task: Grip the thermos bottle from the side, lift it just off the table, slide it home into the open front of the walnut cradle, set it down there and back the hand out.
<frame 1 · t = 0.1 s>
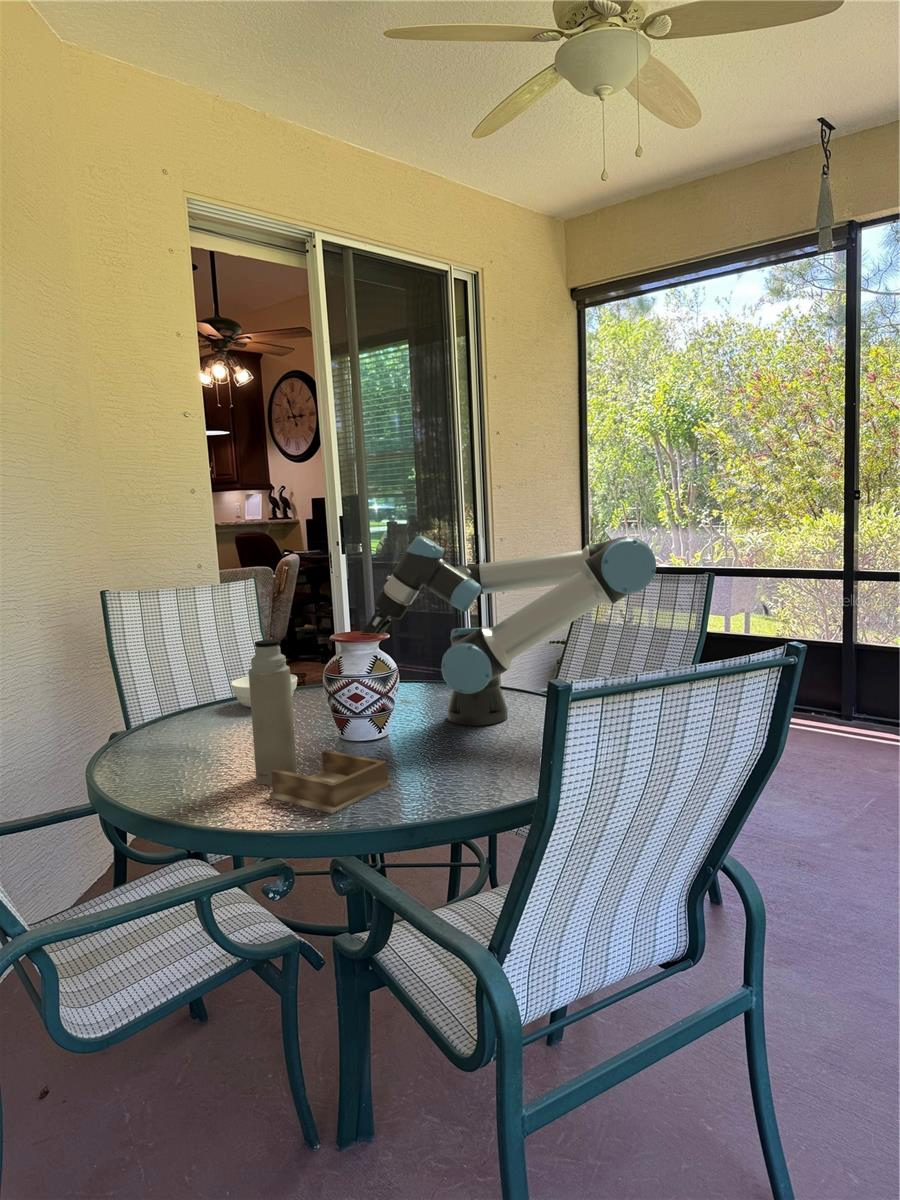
hand: (348, 670, 178), 15 cm above the table, tool tilted 35°, fingers open, 13 cm apart
thermos bottle: (276, 778, 150), on the table
walnut cradle: (331, 790, 142), on the table
bowl: (266, 705, 212), on the table
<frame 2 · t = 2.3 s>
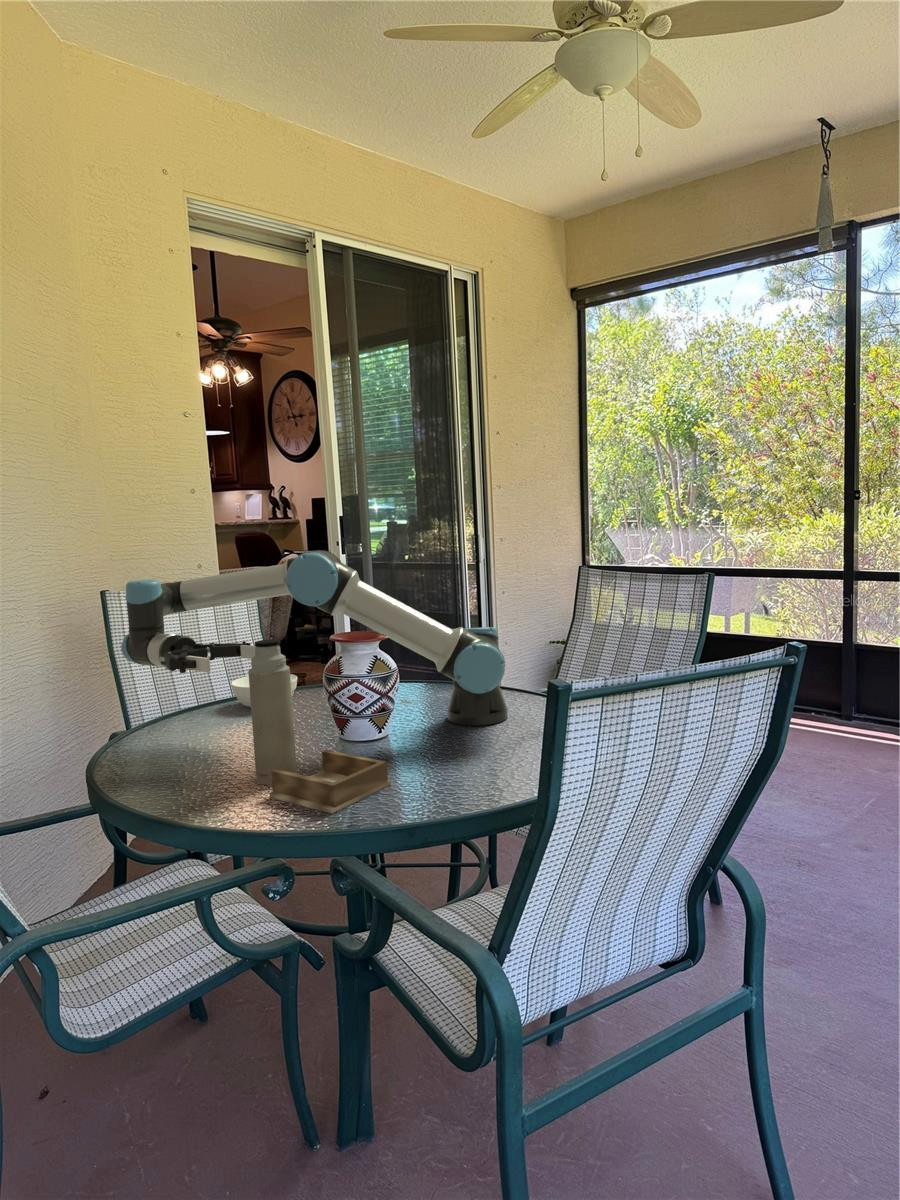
hand: (236, 659, 153), 24 cm above the table, tool horizontal, fingers open, 13 cm apart
nothing on the table moved.
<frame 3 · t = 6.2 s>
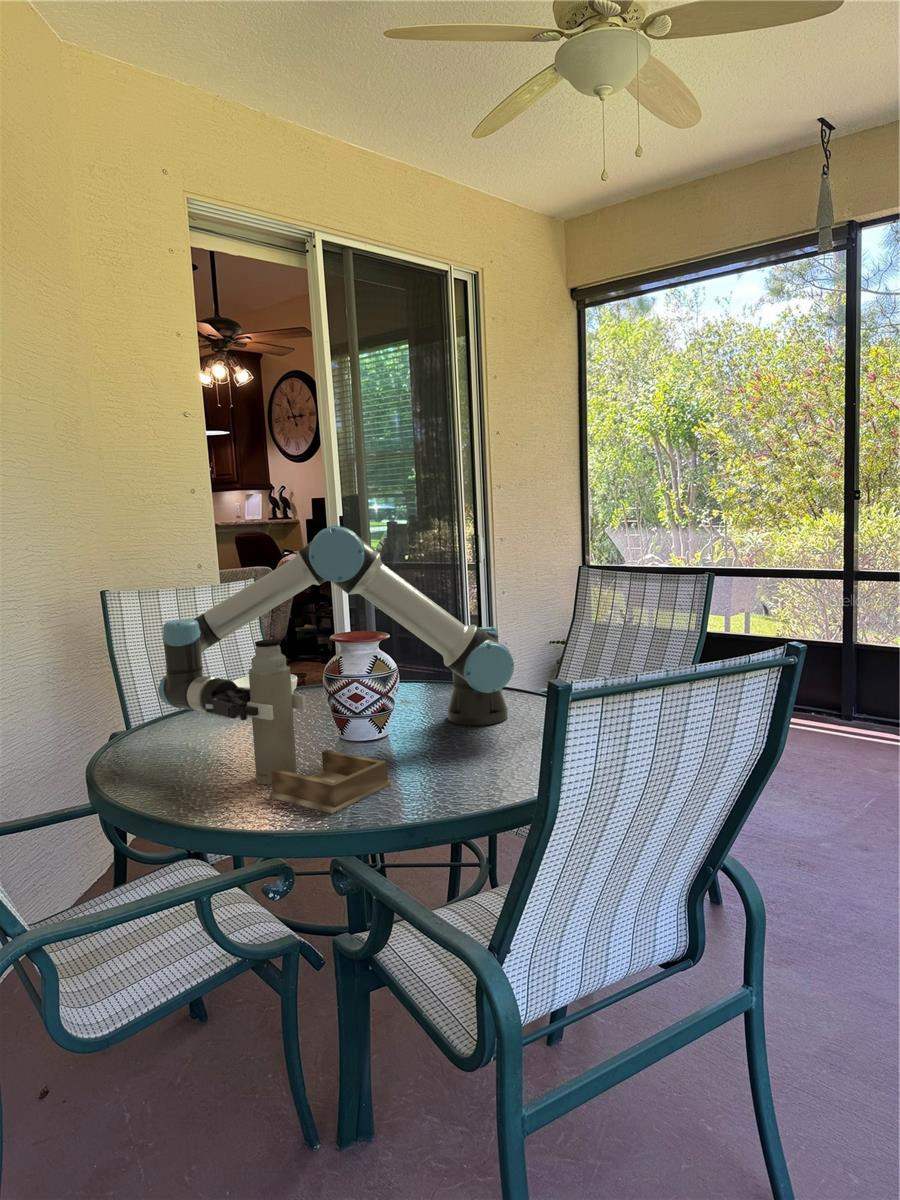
hand: (288, 707, 146), 15 cm above the table, tool horizontal, fingers closed on thermos bottle, 8 cm apart
thermos bottle: (276, 778, 150), on the table, touching gripper
everything else where it was.
when the fingers open (16 cm above the table, at t = 11.0 s): thermos bottle moves 2 cm, resting on walnut cradle.
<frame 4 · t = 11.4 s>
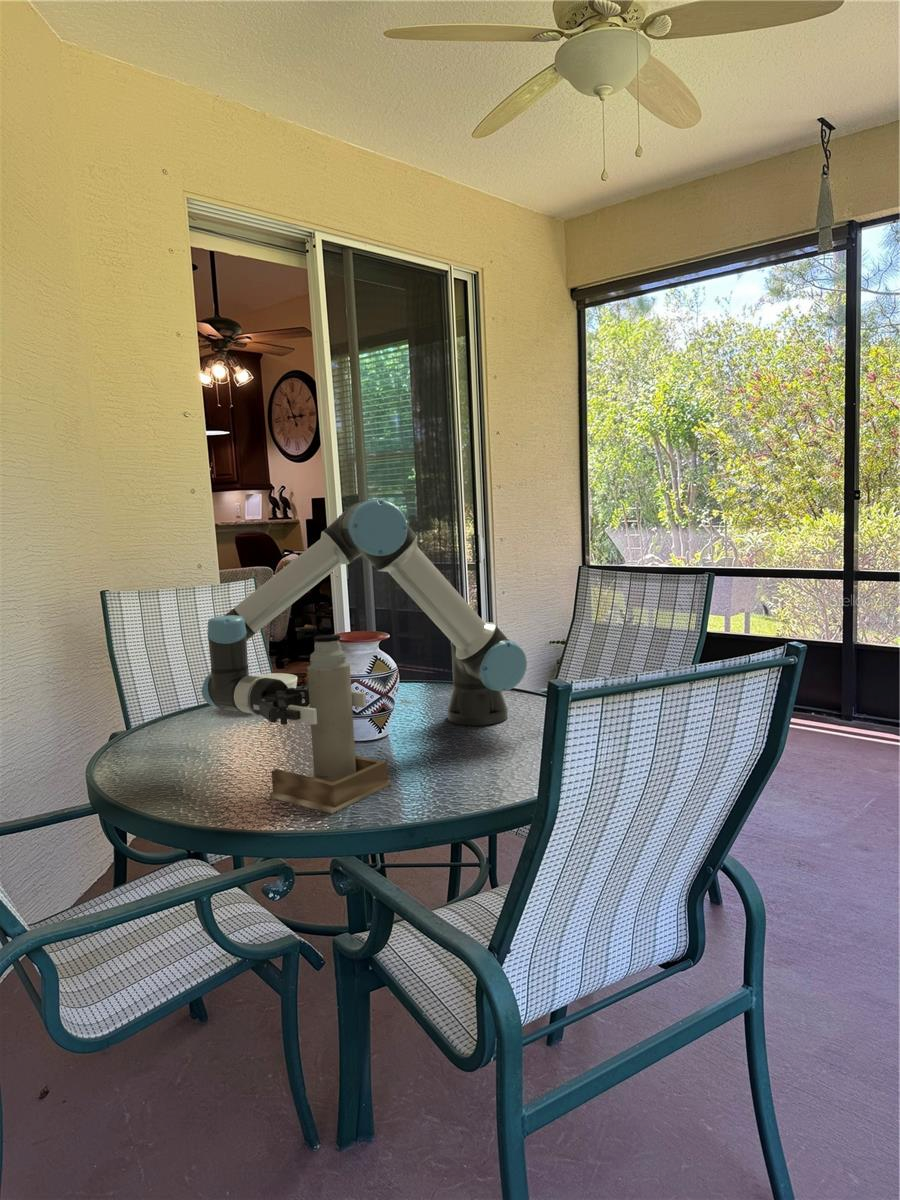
hand: (341, 708, 138), 16 cm above the table, tool horizontal, fingers open, 12 cm apart
thermos bottle: (335, 781, 143), point 1 cm above the table, touching gripper, walnut cradle
everything else where it was.
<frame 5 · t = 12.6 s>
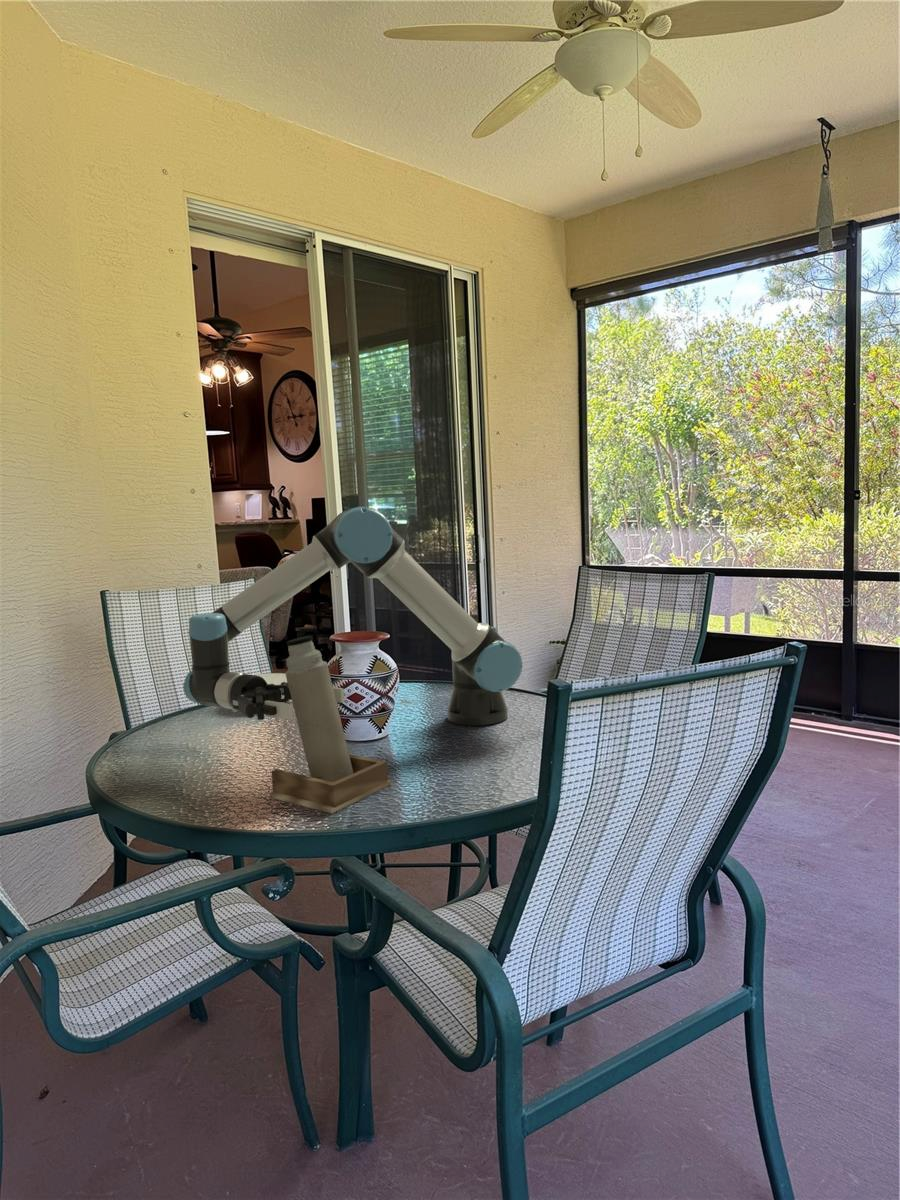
hand: (318, 703, 141), 17 cm above the table, tool horizontal, fingers open, 13 cm apart
thermos bottle: (333, 780, 143), point 1 cm above the table, touching walnut cradle
everything else where it was.
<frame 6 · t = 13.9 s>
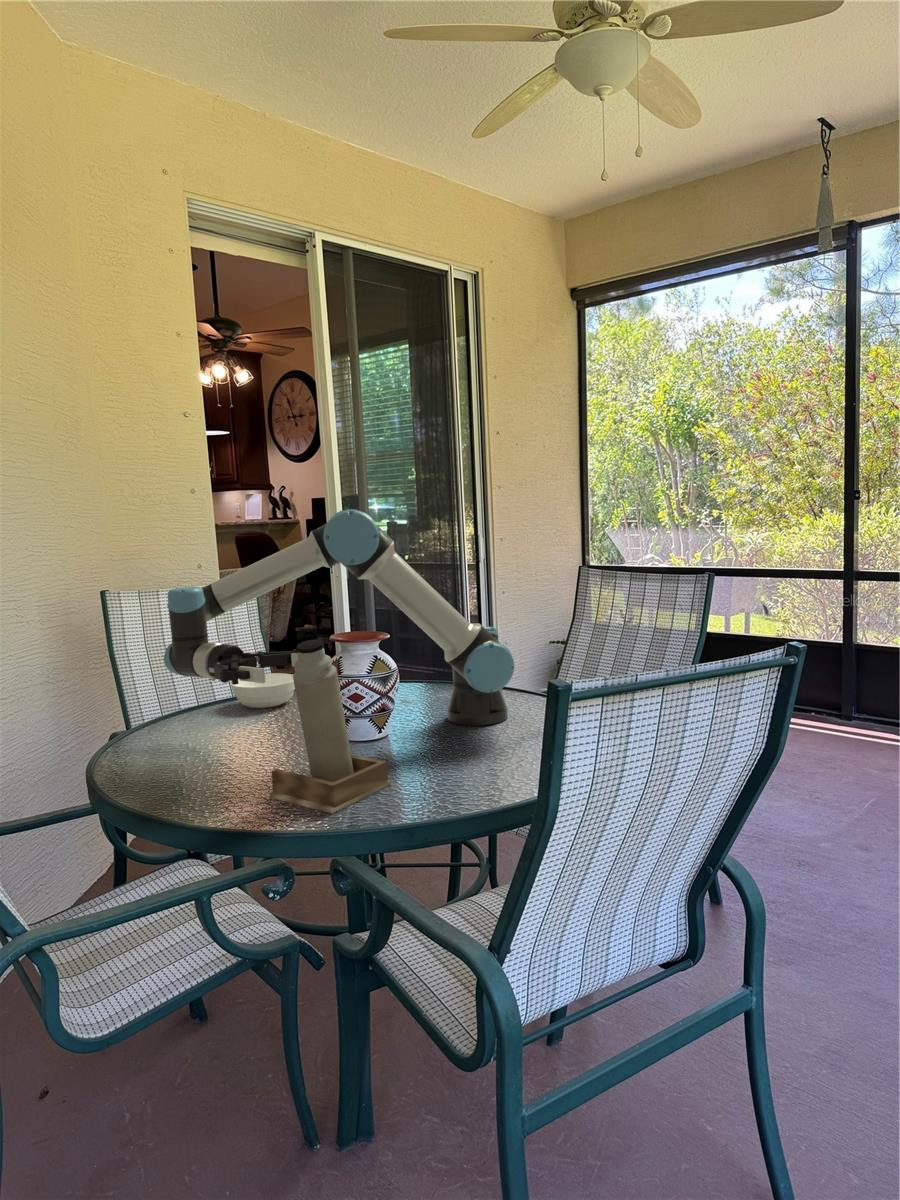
hand: (290, 668, 146), 23 cm above the table, tool horizontal, fingers open, 13 cm apart
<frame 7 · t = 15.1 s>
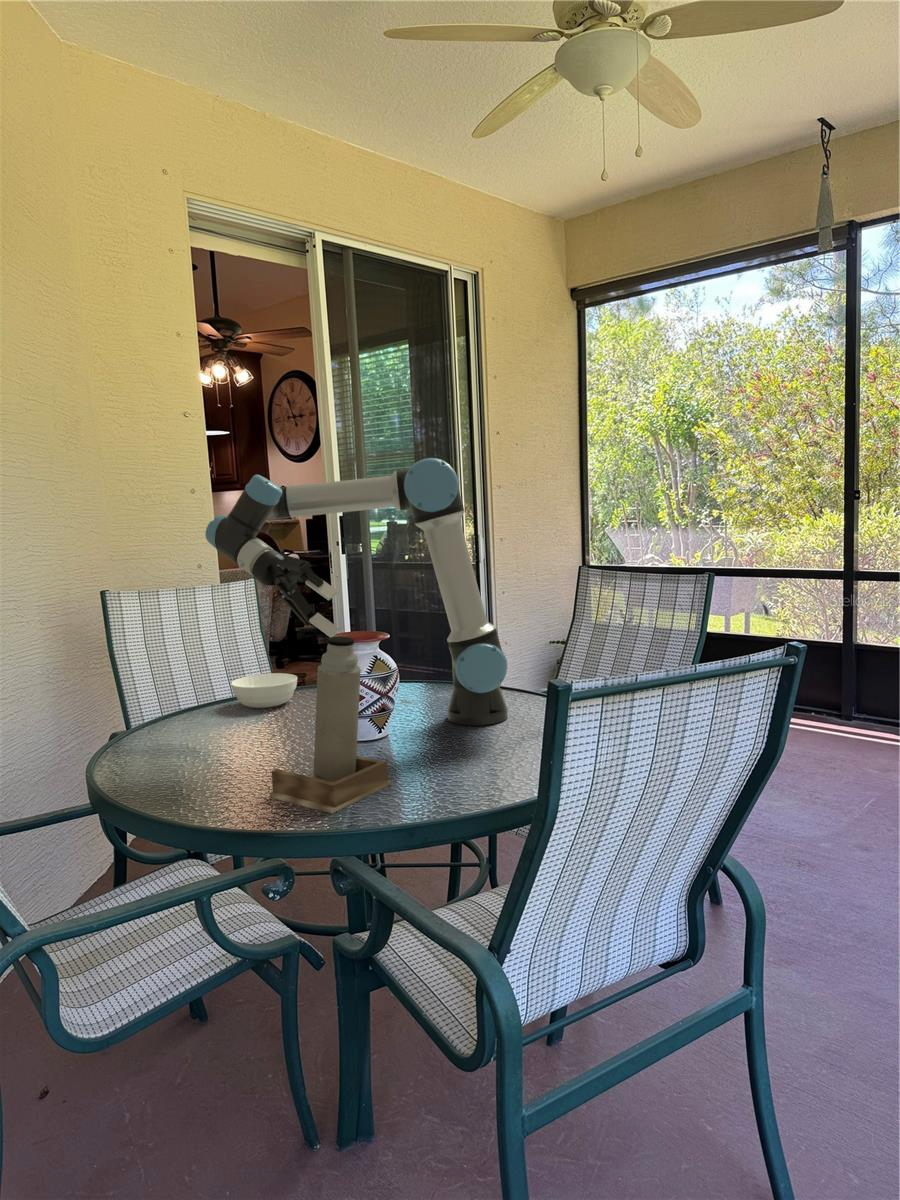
hand: (334, 615, 158), 31 cm above the table, tool tilted 60°, fingers open, 13 cm apart
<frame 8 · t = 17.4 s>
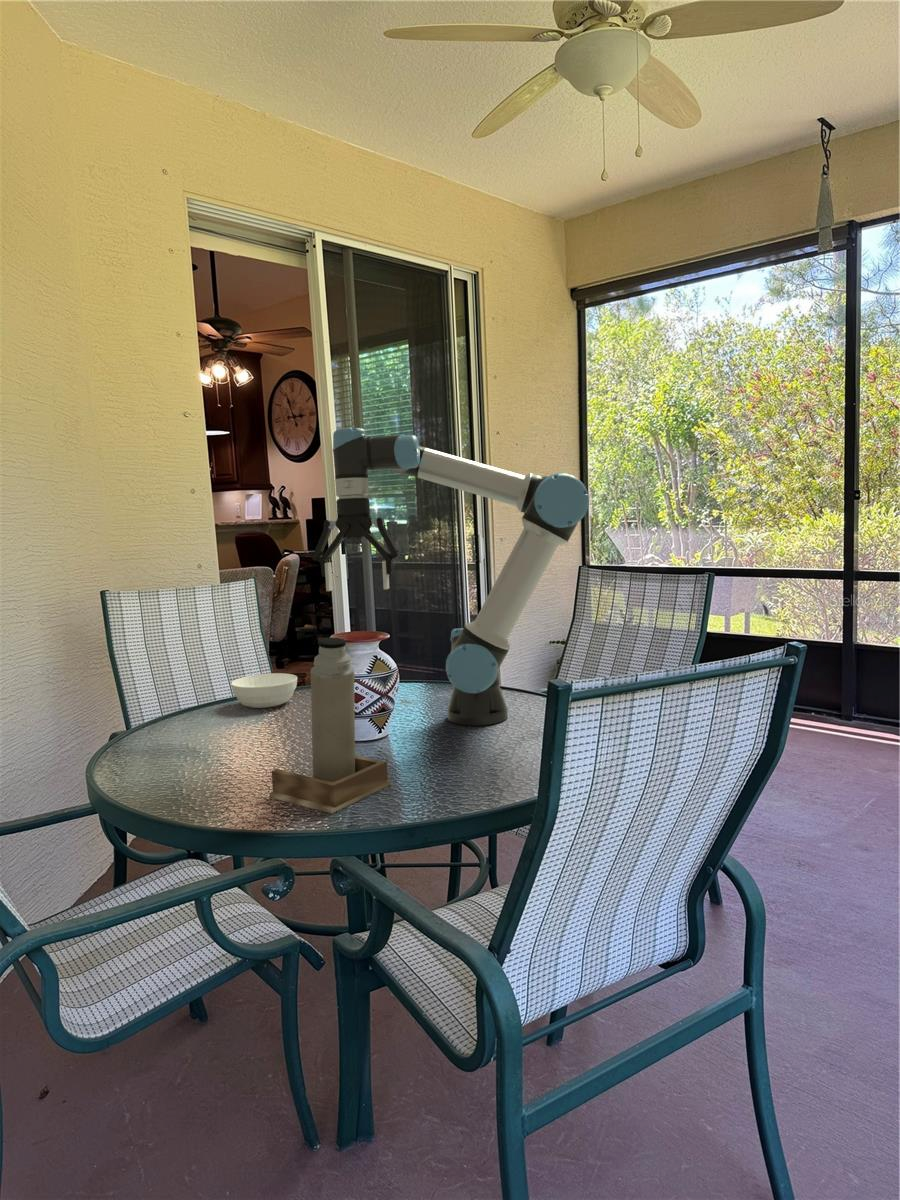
hand: (357, 589, 173), 35 cm above the table, tool pointing down, fingers open, 13 cm apart
at the end: thermos bottle inside the target area on the walnut cradle (2.4 cm from its centre), point 1.1 cm above the walnut cradle's base; thermos bottle tilted 7°; the gripper is holding nothing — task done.
